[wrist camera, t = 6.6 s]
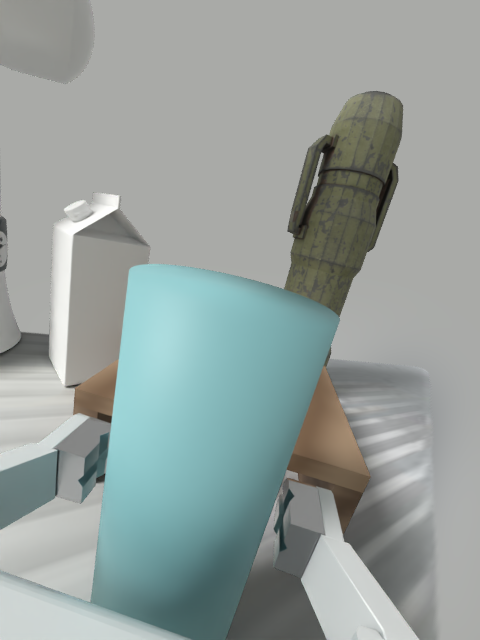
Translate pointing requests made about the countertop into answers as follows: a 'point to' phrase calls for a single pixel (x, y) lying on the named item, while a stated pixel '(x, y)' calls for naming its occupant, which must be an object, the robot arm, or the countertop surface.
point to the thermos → (344, 198)
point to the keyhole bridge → (310, 449)
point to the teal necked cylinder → (200, 440)
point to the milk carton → (90, 285)
